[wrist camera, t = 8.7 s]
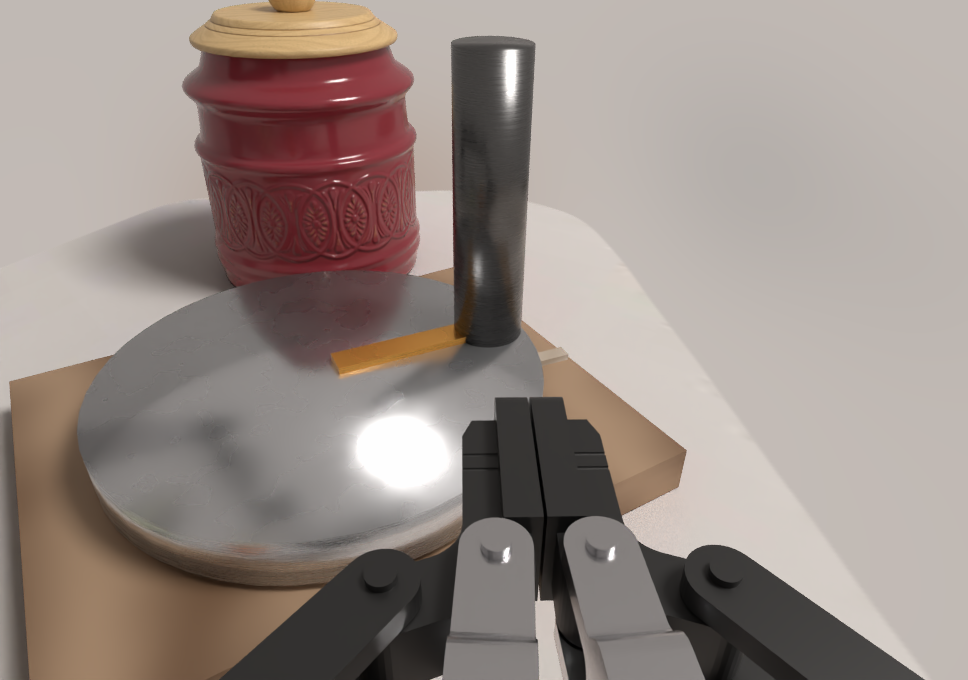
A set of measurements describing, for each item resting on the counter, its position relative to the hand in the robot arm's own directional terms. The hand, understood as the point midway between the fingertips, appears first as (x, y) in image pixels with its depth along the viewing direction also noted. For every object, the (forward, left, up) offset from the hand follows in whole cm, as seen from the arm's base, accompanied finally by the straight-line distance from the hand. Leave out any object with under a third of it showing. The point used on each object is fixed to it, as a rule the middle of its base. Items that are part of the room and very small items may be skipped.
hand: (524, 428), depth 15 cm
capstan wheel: (0, +13, -8) cm, 16 cm away
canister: (+6, +32, -11) cm, 34 cm away
